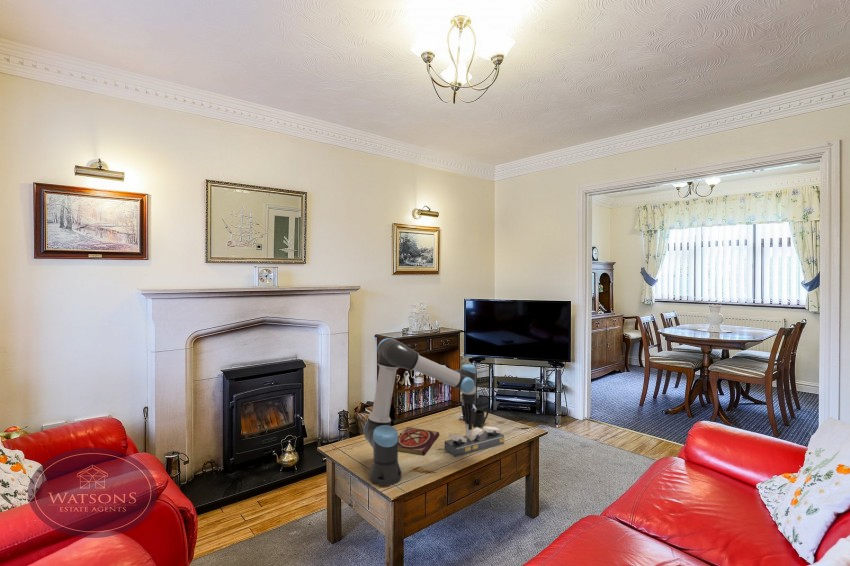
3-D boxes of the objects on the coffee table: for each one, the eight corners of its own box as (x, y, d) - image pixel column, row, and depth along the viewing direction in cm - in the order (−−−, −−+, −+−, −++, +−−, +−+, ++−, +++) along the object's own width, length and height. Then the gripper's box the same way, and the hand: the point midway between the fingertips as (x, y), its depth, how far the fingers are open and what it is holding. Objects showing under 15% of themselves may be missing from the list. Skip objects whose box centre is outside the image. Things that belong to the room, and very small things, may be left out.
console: (454, 457, 224) (455, 447, 224) (444, 449, 233) (444, 441, 233) (504, 443, 241) (504, 435, 241) (493, 437, 250) (493, 429, 250)
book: (424, 457, 226) (424, 448, 226) (388, 451, 232) (388, 442, 232) (439, 437, 253) (439, 429, 253) (406, 431, 259) (406, 423, 259)
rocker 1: (452, 442, 226) (454, 436, 226) (447, 439, 231) (449, 433, 231) (465, 445, 230) (467, 439, 231) (460, 441, 235) (461, 436, 235)
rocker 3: (488, 434, 238) (489, 429, 238) (482, 431, 243) (483, 426, 243) (499, 435, 243) (501, 430, 243) (494, 432, 247) (495, 427, 247)
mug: (491, 426, 267) (491, 411, 267) (475, 429, 262) (475, 414, 262) (484, 422, 275) (484, 407, 274) (468, 425, 270) (468, 410, 269)
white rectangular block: (472, 443, 233) (470, 438, 232) (466, 439, 237) (465, 435, 237) (484, 434, 237) (482, 430, 236) (478, 431, 241) (477, 426, 241)
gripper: (481, 394, 230) (481, 437, 231) (467, 388, 241) (467, 429, 242) (470, 396, 226) (470, 440, 227) (456, 390, 238) (456, 432, 238)
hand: (468, 434), depth 235 cm, fingers closed
